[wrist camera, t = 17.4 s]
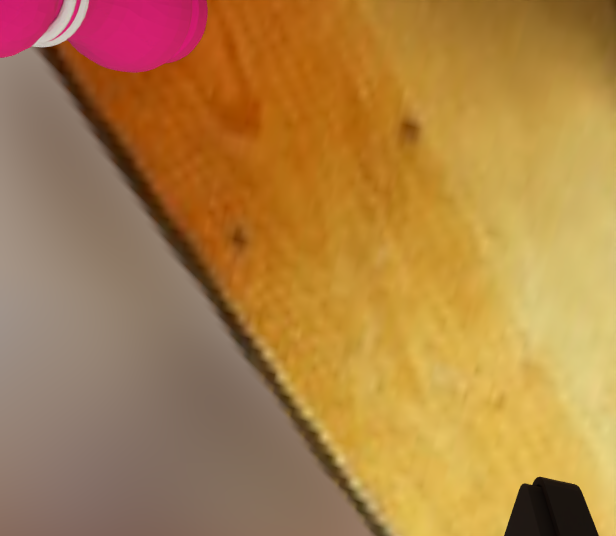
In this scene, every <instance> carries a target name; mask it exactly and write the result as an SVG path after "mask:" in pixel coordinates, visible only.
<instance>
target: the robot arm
mask: <svg viewBox="0 0 616 536" xmlns="http://www.w3.org/2000/svg"><path fill="white" fill-rule="evenodd" d="M504 536H599V535H598V533H597V530H596V527H595V525H594V522H593V520H592V517H591V515H590V512H589V509H588V507H587V504H586V502H585V499H584V496H583V494H582V492H581V490H580V488H579V487H578V486H577V485H575V484H571V483H566V482H561V481H557V480H552V479H548V478H543V477H537V478H536V479H535V480H534V482H533V485H529V484H522V485H521V487H520V489H519V492H518V495H517V498H516V501H515V504H514V507H513V510H512V513H511V516H510V519H509V522H508V526H507V529H506V532H505V535H504Z"/></svg>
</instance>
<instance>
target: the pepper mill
mask: <svg viewBox="0 0 616 536" xmlns="http://www.w3.org/2000/svg"><path fill="white" fill-rule="evenodd" d="M206 21H207V1H206V0H0V58H3V57H8V56H12V55H15V54H17V53H19V52H21V51H23V50H25V49H27V48H29V47H31V46H34V47H50V46H53V45H57V44H60V43H61V42H63V41H65V40H68V41H69V42H70V43H71V44H72V45H73V46H74V47H75V48H76V49H77V50H78V51H79V52H80V53H81V54H83V55H84V56H86V57H87V58H89V59H90V60H92V61H94V62H95V63H97V64H99V65H101V66H103V67H106V68H109V69H113V70H117V71H124V72H143V71H148V70H152V69H154V68H156V67H158V66H160V65H162V64H164V63H170V62H174V61H177V60H180V59H181V58H183V57H185V56H187V55H188V54H189V53H190V52H191V51H192V50H193V49H194V48H195V47H196V45H197V44H198V43H199V41H200V40H201V38H202V35H203V33H204V30H205V26H206Z"/></svg>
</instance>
